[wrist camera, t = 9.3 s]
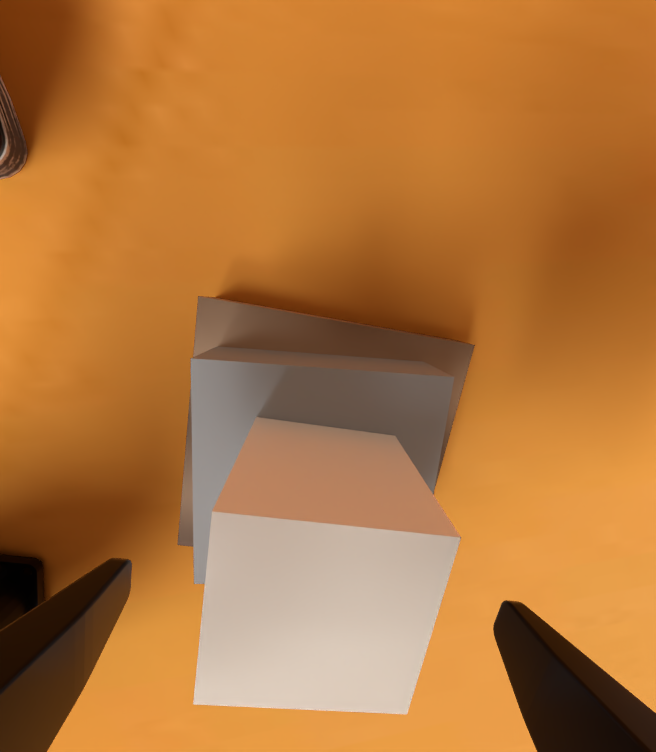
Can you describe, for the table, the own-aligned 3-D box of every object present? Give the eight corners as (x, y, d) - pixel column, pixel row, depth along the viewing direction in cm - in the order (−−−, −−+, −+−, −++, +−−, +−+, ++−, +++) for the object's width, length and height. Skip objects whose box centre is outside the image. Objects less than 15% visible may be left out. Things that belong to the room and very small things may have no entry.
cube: (368, 551, 12) (407, 714, 7) (241, 538, 12) (193, 703, 7) (395, 435, 11) (460, 537, 6) (255, 416, 11) (212, 511, 6)
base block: (396, 528, 19) (411, 569, 16) (199, 506, 18) (177, 545, 15) (445, 337, 17) (474, 345, 14) (219, 297, 16) (198, 296, 13)
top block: (396, 535, 16) (416, 587, 13) (216, 529, 15) (194, 583, 12) (423, 361, 14) (454, 376, 11) (217, 346, 13) (190, 358, 10)
